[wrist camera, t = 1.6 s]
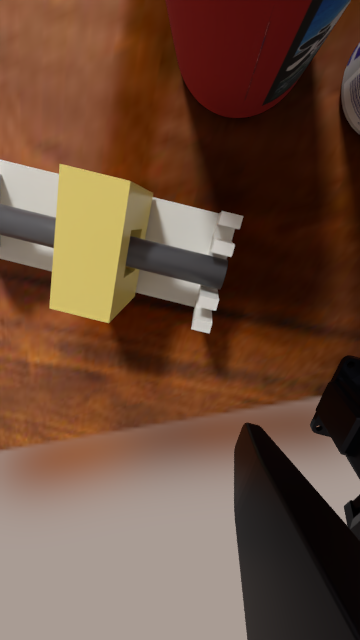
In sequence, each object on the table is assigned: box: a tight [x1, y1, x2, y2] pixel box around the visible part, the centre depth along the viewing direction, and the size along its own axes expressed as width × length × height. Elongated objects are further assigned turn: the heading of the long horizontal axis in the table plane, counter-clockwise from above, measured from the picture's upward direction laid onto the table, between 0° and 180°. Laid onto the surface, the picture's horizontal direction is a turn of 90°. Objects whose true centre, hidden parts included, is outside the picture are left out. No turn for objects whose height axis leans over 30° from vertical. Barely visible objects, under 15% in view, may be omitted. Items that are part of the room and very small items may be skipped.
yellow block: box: [50, 164, 153, 323], centre depth 15 cm, size 3×6×5 cm, turn 167°
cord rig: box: [0, 160, 243, 333], centre depth 16 cm, size 16×6×5 cm, turn 77°
